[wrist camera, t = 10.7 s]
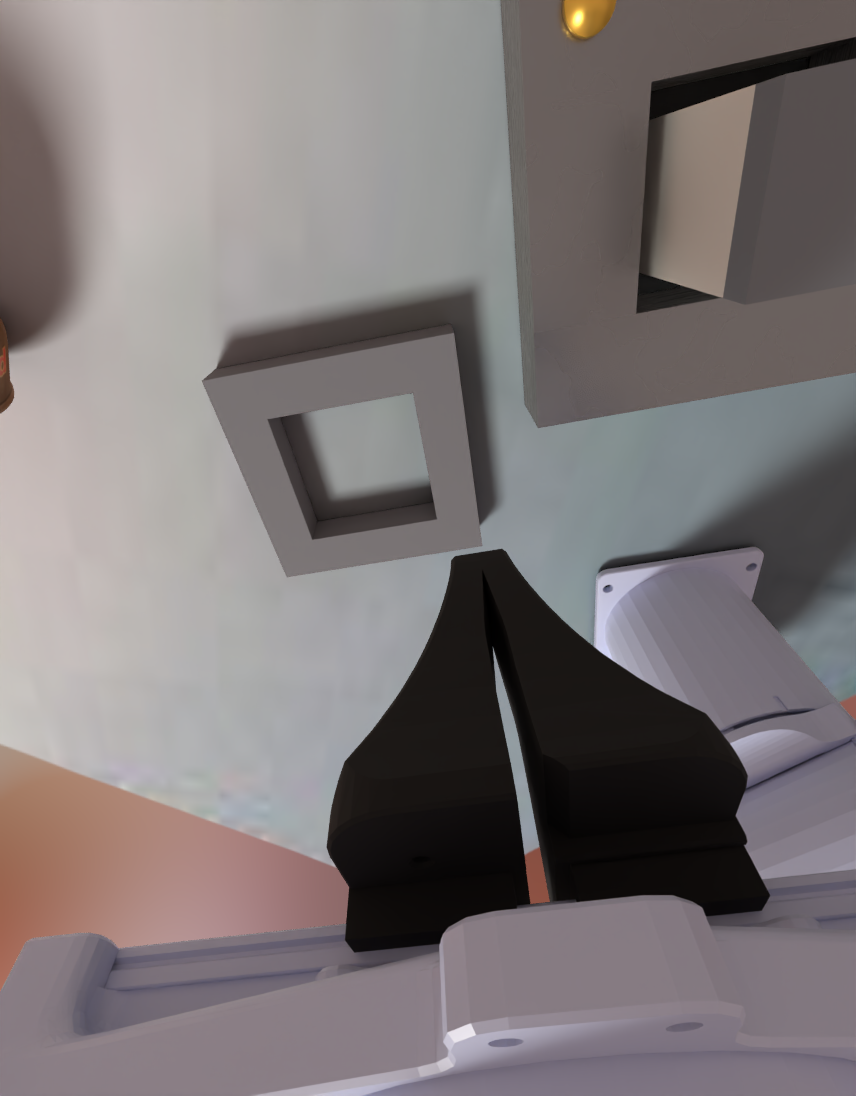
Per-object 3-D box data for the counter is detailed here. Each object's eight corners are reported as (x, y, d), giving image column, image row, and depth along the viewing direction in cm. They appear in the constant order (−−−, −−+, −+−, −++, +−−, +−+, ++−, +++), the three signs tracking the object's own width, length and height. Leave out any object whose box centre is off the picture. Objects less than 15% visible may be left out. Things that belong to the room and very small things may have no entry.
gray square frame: (478, 527, 23) (482, 545, 22) (292, 557, 24) (286, 577, 23) (451, 323, 18) (453, 332, 17) (215, 369, 19) (202, 380, 17)
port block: (836, 349, 19) (895, 368, 17) (524, 404, 20) (539, 431, 18) (984, -156, 12) (1118, -239, 10) (498, -38, 13) (518, -89, 11)
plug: (751, 247, 17) (925, 270, 11) (633, 270, 17) (745, 304, 12) (778, 92, 15) (1014, 22, 9) (641, 122, 15) (786, 73, 9)
